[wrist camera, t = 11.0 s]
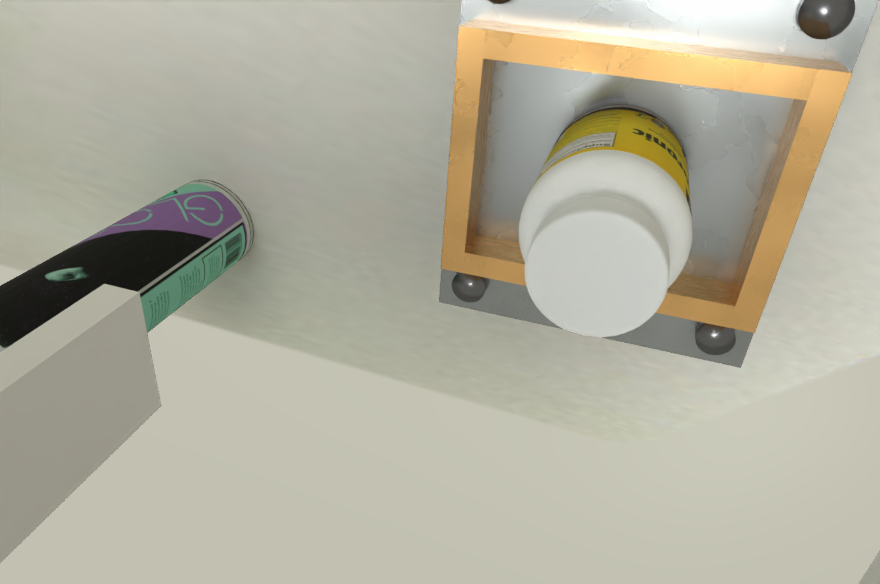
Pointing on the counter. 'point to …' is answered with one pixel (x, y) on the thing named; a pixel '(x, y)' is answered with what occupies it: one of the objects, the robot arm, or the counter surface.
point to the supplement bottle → (607, 222)
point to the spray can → (137, 259)
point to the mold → (681, 106)
